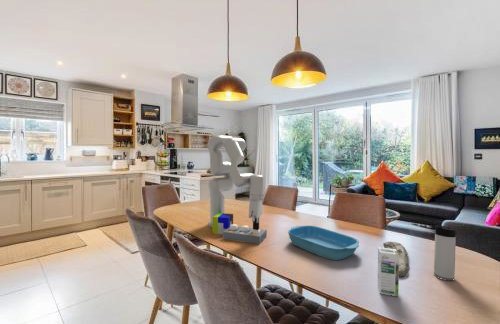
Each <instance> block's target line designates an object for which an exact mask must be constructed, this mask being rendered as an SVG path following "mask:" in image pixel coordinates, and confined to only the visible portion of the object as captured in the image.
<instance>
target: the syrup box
mask: <svg viewBox="0 0 500 324" xmlns="http://www.w3.org/2000/svg"><path fill="white" fill-rule="evenodd" d="M399 278H400V277H399V254H398V252H397V250H396V249H388V248H384V247H380V246H379V247H377V288H378V292H379V294H380V293H381V294H380V295H387V296H391V295H392V297H396V296H397V297H398V298H399V286H400V285H399V281H400V279H399Z"/></svg>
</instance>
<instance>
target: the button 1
mask: <svg viewBox="0 0 500 324" xmlns="http://www.w3.org/2000/svg"><path fill="white" fill-rule="evenodd" d="M238 227H239V224H236V223H233V224H231V225H230V231H237V230H238Z"/></svg>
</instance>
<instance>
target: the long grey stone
mask: <svg viewBox="0 0 500 324" xmlns="http://www.w3.org/2000/svg"><path fill="white" fill-rule="evenodd" d="M382 246H383V248H388V249H396V250H397V252H398V254H399V276H404V277H405V275H406V274H407V272H408V271H409V270H408V268H409V267H410V266H409V263H408V258H409V257H408V251H407V249H406V248H405V246H404V245H403V244H401V243H399V242H396V241H389V240H388V241H385V242H383V245H382Z"/></svg>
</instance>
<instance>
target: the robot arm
mask: <svg viewBox="0 0 500 324" xmlns="http://www.w3.org/2000/svg"><path fill="white" fill-rule="evenodd" d="M246 147H247V143H246V141H245V140H244V139H243V138H241V137H237V136H232V135H221V134H220V135H218V134H216V135H212V136H210V138H208V142H207V148H208V152H209V164H210V165H209V167H210V169H209V170H210V174H211V175H212V176H214V177H215V178H211V179H210V180H209V181H208V189H209V190H208V191H209V200H210V202H209V210H210V211H209V214H210V215H209V216H210V219H209V222H208V223H207V226H208V227H211V228H213V216H215V215H216V214H217V213H225V208H226V207H225V197H224V195H223V193H222V192H229V191H231V190H233V188H234V186H236V187H237V188H244V187H249V204H248V205H249V206H248V207H249V208H248V218H249V219H251V222H252V228H253V230H259V229H260V218H261V216H262V215H263V200H264V176H263V175H262V174H255V173H251V172H249V173H247V172H246V173H240V171H239V169H238V168H239V167H238V165H240V164H241V163H243V162H244V160H245V155H244V151H245V150H246ZM221 149H225V151H226V154H227V155H228V158H229V160H230V161H226V160H225V161H224V158H223V157H224V156H223V155H224V154H223V153H222V151H221ZM220 176H221V177H220ZM222 176H223V177H222Z"/></svg>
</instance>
